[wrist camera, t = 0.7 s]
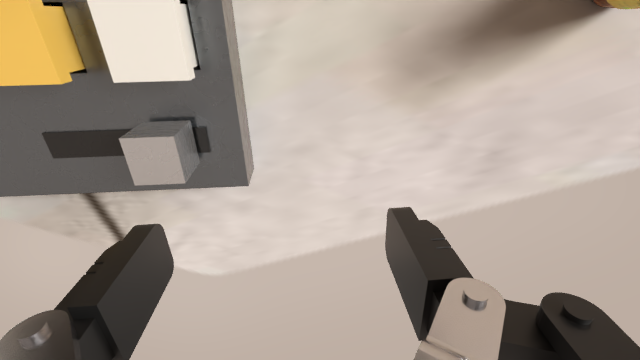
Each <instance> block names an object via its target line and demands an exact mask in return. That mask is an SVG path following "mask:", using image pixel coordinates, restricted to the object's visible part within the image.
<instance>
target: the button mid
mask: <svg viewBox="0 0 640 360" xmlns="http://www.w3.org/2000/svg"><path fill="white" fill-rule="evenodd" d="M82 69H86V68H85V65H84V62H83V59H82V56H81V54H80V51H79V48H78V45H77V42H76V40H75V37H74V34H73V31H72V28H71V26H70V23H69V20H68V17H67V14H66V12H65V9H64V7H59V6H44V5H43V3H42V0H0V86H19V85H53V84H64V83H68V82H71V81H72V78H71V76H70V72H74V71H78V70H82Z"/></svg>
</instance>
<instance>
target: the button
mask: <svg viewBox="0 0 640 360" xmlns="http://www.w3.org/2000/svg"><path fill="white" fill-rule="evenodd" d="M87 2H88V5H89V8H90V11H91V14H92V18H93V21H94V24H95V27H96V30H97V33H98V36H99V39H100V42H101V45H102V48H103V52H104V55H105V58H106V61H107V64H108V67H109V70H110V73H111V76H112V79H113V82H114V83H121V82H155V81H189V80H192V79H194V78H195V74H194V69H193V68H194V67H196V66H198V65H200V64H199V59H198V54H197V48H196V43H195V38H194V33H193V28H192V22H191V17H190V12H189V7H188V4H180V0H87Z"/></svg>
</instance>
